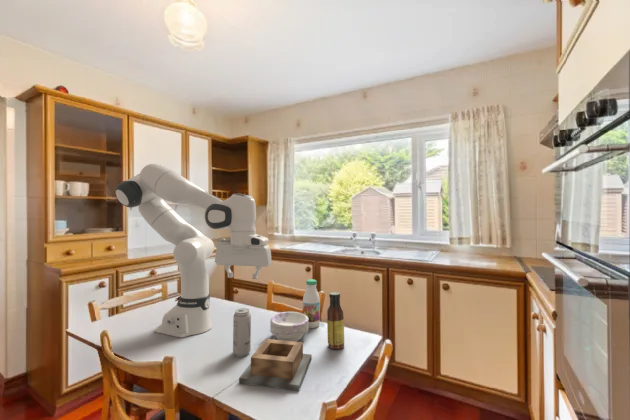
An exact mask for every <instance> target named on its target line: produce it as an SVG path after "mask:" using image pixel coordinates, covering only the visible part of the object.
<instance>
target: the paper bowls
mask: <svg viewBox="0 0 630 420" xmlns="http://www.w3.org/2000/svg"><path fill="white" fill-rule="evenodd" d="M308 320H309V319H308V317H307V316H306V315H305V314H302V312H298V311H282V312H279V313H276V314H274V315H272V316H271V317H270V325H269V326H270V327H269V328H270V329H269V331H270V333H271V335H272V336H274V337H275V338H276V340H283V341H294V342H299V341H300V340H301V339H302V338H303V336H304V335H306V334H307V333H308V332H309V328H308V324H309V323H308Z"/></svg>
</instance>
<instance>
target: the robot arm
mask: <svg viewBox="0 0 630 420" xmlns="http://www.w3.org/2000/svg"><path fill="white" fill-rule="evenodd" d="M140 170H141V171H140V173H138V174H136V175H134V176H132V177H129V179H126V180H123V181H121V182H119V183H118V184H117V185H116V186H115V188H114V194H115V197H116V199H117V200H118V201H119V203H120V204H121V205H122V206H124V207H126V208H135V207H137V208H138V212H139V213H140V216H141V217H142V218H143V219H144V220H145V222H146V223H147V224H148V225H149V226H150V227H151V228H152V229H153V230H154V231H156V233H158V235H159V236H160V237H161V238H162V239H164V240H165V241H166V242H168V243H170V244H173V245H174V246H175V247H174V249H173V250H172V251H173V252H172V256H173V259H174V260H175V262H176V263H177V266H178V269H179V274H180V295H179V296H178V297H176V298H175V299H174V302H177V303H176V305H175V306H173V307H172V308H171V309H169V310H168V311H167V312H165V313H164V314H163V317H162V319H161V324H159V325H157V326H156V328H155V333H159V334H163V335H168V336H172V337H176V338H186V337H189V336H193V335H198V334H202V333H205V332H208V331H209V330H211V329H212V328H213V323H212V321H211V315H210V314H211V313H210V305H211V303H210V302H211V295H210V293H209V292H210V291H209V290H210V288H209V287H210V276H209V273H208V271H207V266H206V260H208V259H209V258H210V257H211V256H212V254H213V253H214V251H215V255H214V256H215V257H214V262H215V264H216V265H217V266H218V265H220V266H224V270H225V271H226V274H227V278H228V279H230V278H231V279H232V278H234V271H232V269H231V267H232V266H240V267H241V266H242V267H244V266H245V267H255V272H253V273H252V279H253V280H258V279H259V273H260V272H261V270H262V267H263V268H264V267H265V268H266V267H268V266H270V265H271V264H272V251H271V247H270V245H269V243H270V240H269V238H268V237H266V236H264V235H260V234H258V233H257V228H256V220H257V205H256V201H255V198H254V196H252V195H250V194H249V195H248V194H244V193H243V194H242V193H236V192H235V193H233V194H231V196H229V197H228V198H226V199H225V200H223V199H221V198H219V197H217V196H216V195H214V194H212V193H209V192H208V191H206V190H204V189H202V188H201V187H199V186H198V185H197V184H195V183H193V182H191V181H190V180H189V179H187V178H186V177H184V176H182V175H181V174H179V172H178V173H177V172H176V171H174V170H172V169H171V168H169V167H166V166H164V165H161V164H156V163H149V164H147V165H145V166H144V167H142V168H141V169H140ZM166 201H167V202H170V203H172V204H178V205H188V206H189V205H190V206H195V207H200V208H203V209H205V211H204V221H205V223H206V225H207V226H208V227H209V228H210V229H214V230H228V229H229V230H230V235H229V236H230V237H229V238H220V239H218V240H217V241H216V243H214V241H213V240H212V239H211V238H210V237H208V236H206V235H205V234H203V233H202V232H201V231H199V230H198V229H197V228H195V227H194V226H193V225H191V224H189V222H187V221H186V220H185V219H184V218H183V217H182V216H181V215H179V214H178V213H177V212H176V211H175V210H174V209H173V208H172V206H170V205H169V204H168V203H167V202H166ZM215 249H216V250H215Z"/></svg>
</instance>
